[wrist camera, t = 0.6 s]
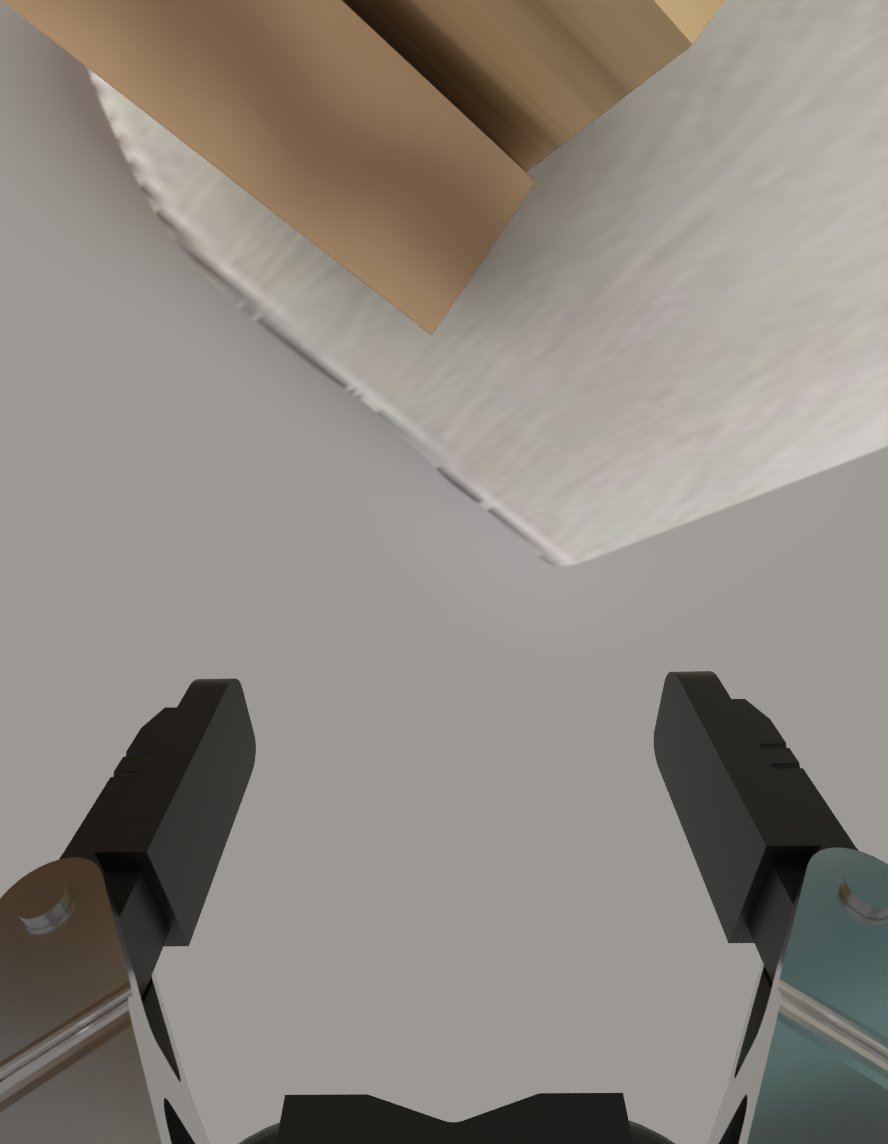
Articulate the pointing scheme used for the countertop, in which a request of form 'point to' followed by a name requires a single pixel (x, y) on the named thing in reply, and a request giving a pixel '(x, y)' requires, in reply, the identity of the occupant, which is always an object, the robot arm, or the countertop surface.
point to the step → (311, 129)
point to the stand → (536, 58)
